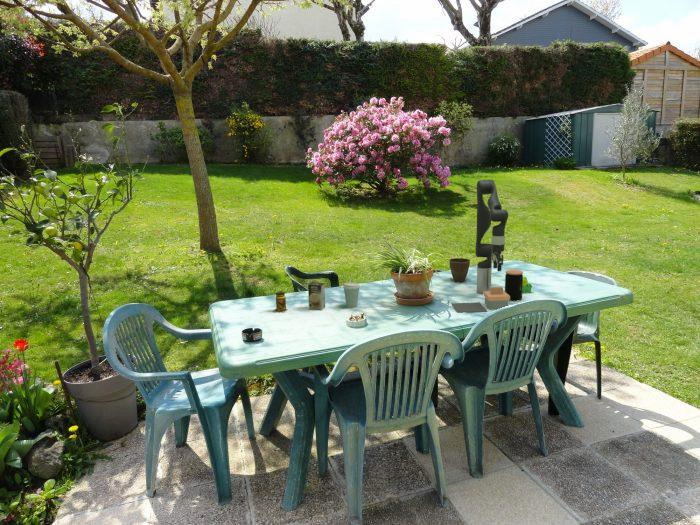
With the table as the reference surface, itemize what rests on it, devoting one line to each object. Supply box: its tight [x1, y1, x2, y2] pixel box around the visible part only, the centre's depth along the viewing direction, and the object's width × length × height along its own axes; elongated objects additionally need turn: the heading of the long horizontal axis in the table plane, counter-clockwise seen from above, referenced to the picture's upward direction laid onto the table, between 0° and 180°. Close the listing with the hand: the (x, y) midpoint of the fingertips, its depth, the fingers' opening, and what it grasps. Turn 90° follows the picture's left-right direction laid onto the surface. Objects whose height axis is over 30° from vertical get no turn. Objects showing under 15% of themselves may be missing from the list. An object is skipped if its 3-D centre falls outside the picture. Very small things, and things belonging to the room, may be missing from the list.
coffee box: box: [307, 281, 326, 311], centre depth 313 cm, size 9×6×16 cm
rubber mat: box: [450, 301, 488, 314], centre depth 305 cm, size 18×18×1 cm
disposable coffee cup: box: [342, 282, 361, 309], centre depth 315 cm, size 11×11×15 cm
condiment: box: [271, 290, 289, 313], centre depth 311 cm, size 7×8×12 cm
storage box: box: [484, 296, 509, 310], centre depth 306 cm, size 11×11×7 cm
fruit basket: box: [522, 276, 533, 294], centre depth 333 cm, size 11×9×11 cm
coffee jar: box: [504, 269, 524, 302], centre depth 318 cm, size 11×11×18 cm
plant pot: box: [448, 257, 471, 283], centre depth 365 cm, size 15×15×16 cm
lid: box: [482, 286, 510, 301], centre depth 304 cm, size 13×13×6 cm
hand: (497, 269), depth 301 cm, fingers open, 8 cm apart
